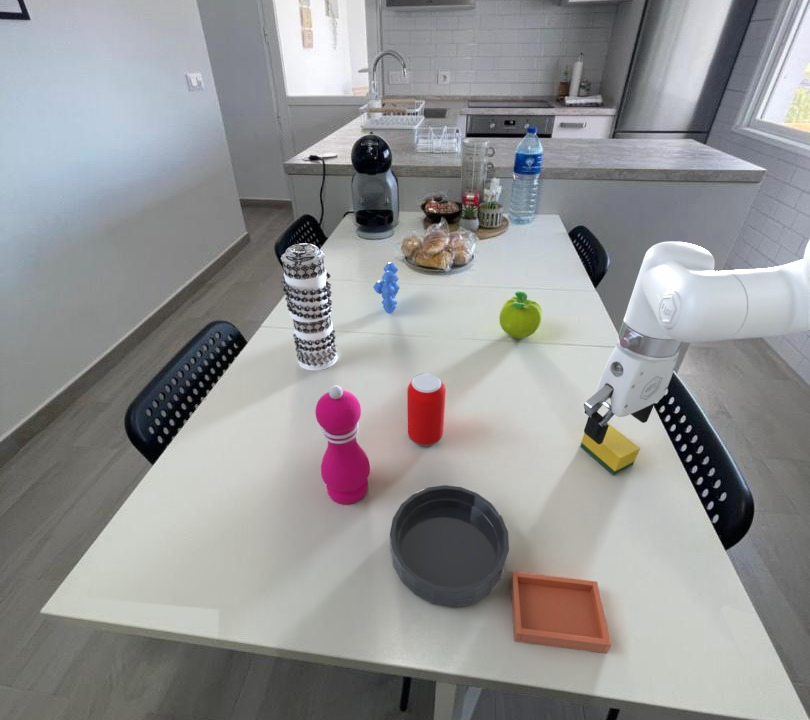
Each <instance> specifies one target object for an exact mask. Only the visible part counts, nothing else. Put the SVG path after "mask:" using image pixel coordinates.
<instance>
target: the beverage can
mask: <svg viewBox="0 0 810 720" xmlns="http://www.w3.org/2000/svg"><path fill="white" fill-rule="evenodd" d="M406 391H407V392H406V395H407V396H406V397H407V399H406V400H407V408H406V409H407V411H406V412H407V434H408V435H407V436H408V437H409V439H410V440H411V442H413V443H414V444H416V445H419V446H423V447H429V446H433V445H436V444H437V443H438V442H440V441H441V439H442V437H443V436H444V423H445V410H446V409H445V408H446V393H447V392H446V387H445V384H444V382H443V381H442V380H441V378H440V377H439V376H437V375H435V374H432V373H421V374H420V373H419V374H417V375H415V376H414V377H413V378H412V379H411V380H410V382H409V383H408V386H407V389H406Z"/></svg>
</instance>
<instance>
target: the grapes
mask: <svg viewBox="0 0 810 720" xmlns="http://www.w3.org/2000/svg"><path fill="white" fill-rule="evenodd" d="M382 270H384V273H383V275H382V276H381V279H382V280H378V281H376V282H375V283H374V285H373V286H372V287H373V289H374V291H375V293H377V294H379V295H381V298H382V299H383V300H382V301H381V304H382V309H383V310H384V311H385V312H386V314H389V315H391V314H392V313H393V312H394V311H395V310H396V309H397V304H398V301H397V300H396V296H397V294H398V293H399V290H400V289H401V287H400V285H399V284H398V283H397V282H398V281H399V277H398V275H397V272H398V271H399V269H398V267H397V265H396V264H395V263H394V262H392V261H389V262H387V263H386V264H385V266H384V267H383V269H382Z"/></svg>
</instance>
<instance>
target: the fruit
mask: <svg viewBox="0 0 810 720" xmlns="http://www.w3.org/2000/svg"><path fill="white" fill-rule="evenodd" d="M514 295H515V296H512V297H510V298H509V299H507V300H506V301H505V302H504V303H503V305H502V307H501V309H500V311H499V316H498V318H499V320H498V321H499V325H500V327H501V329H502V331H504V332H505V333H506V334H507V335H508V336H509V337H511V338H514V339H518V340H521V339H524V338H528V337H530V336H532V335H533V334H534V333H535V332H536V331H537V330H538V328H539V327H540V325H541V324H542V319H543V309H542V306H541V305H540V303H539V302H538V301H536V300H532V299H529V298H528V294H527V293H526V292H524V291H522V290H517V291H515V292H514Z"/></svg>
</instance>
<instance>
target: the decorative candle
mask: <svg viewBox="0 0 810 720" xmlns="http://www.w3.org/2000/svg"><path fill="white" fill-rule="evenodd" d="M325 257H326V253H325V252H324V251H323V250H322V249H320V248H319V247H318V246H316V245H315V244H313V243H304V242H303V243H297V244H293V245H290V246H289V247H288V248H286V249H285V252H284V253H283V254H282V255H281V257H280V260H281V262H282V268H283V271H284V272H283V275H282V277H281V279H282V280H281V282H280V283H281V285H283V288H282V290H283V292H284V295H285V298H284V299H285V301H286V307H287V310H288V311H289V316H290V318H291V319H292V321H293V328H292V329H293V334H292V337H293V339H294V341H293V342H294V344H295V348H294V349H295V352H296V358H297V363H298V365H299V366H300V367H301V368H302V369H304V370H308V371H313V372H314V371H315V372H316V371H323V370H326V369H329V368H331V367H332V366H334V365H335V364H336V362H337V361H338V354H337V352H338V350H337V343H336V340H335V339H336V336H335V333H336V330H335V328H334V327H333V321H332V319H331V313H332V311H333V307H332V304H333V300H332V299H331V298H330V297H331V296H332V290H331V286H332V284H331V283H330V282H329V281H328V279H331V274H330V273H329V272H328V271H327V268H326V267H325V260H324V258H325ZM326 279H327V280H326Z"/></svg>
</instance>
